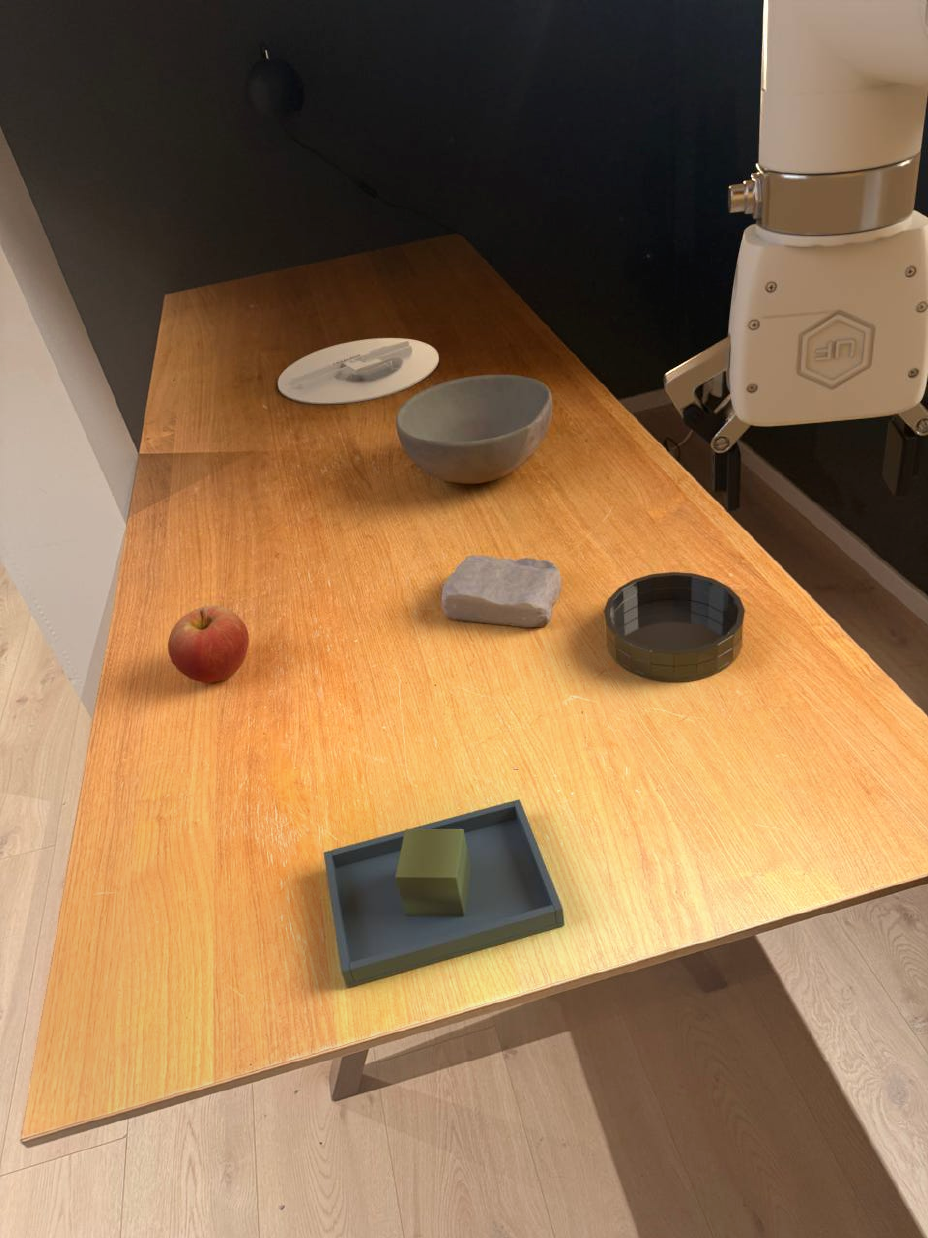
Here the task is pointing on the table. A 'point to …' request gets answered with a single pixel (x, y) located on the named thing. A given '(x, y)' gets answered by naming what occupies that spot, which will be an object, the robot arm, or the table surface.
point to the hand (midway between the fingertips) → (811, 494)
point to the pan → (674, 626)
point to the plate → (358, 371)
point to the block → (433, 872)
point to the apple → (208, 644)
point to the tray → (394, 942)
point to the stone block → (502, 591)
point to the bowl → (475, 426)
